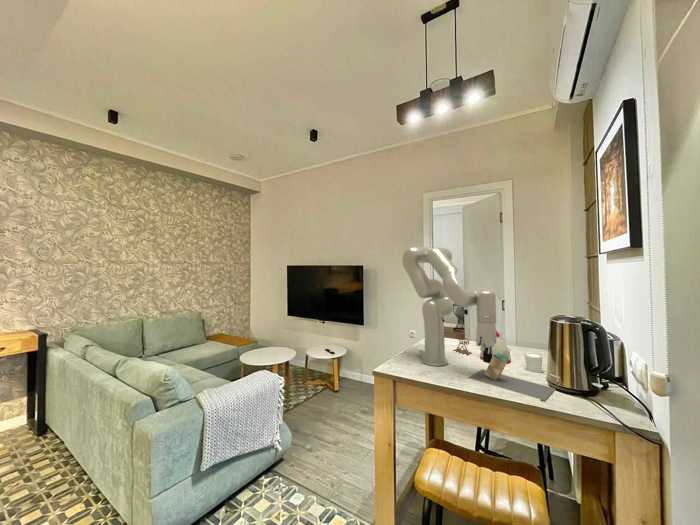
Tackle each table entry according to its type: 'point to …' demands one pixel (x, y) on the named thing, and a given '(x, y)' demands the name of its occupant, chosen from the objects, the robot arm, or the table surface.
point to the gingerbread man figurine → (462, 343)
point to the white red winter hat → (499, 349)
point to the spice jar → (496, 366)
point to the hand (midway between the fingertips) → (487, 362)
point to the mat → (516, 385)
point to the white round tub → (533, 362)
